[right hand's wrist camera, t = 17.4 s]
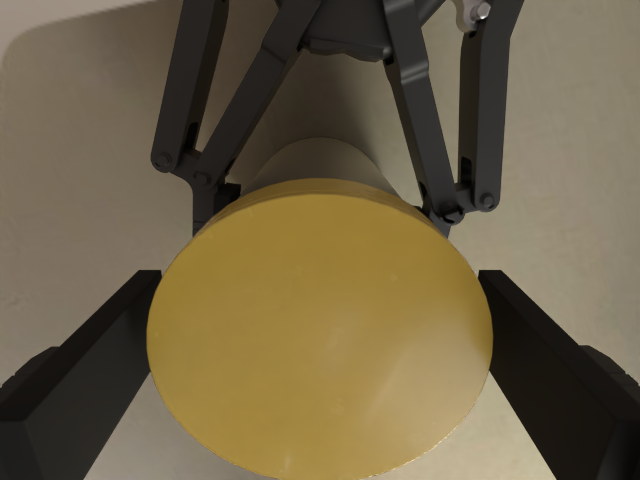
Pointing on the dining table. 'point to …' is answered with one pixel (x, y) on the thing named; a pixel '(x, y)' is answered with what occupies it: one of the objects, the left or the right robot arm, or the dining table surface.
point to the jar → (319, 165)
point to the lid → (319, 332)
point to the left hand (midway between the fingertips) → (309, 311)
